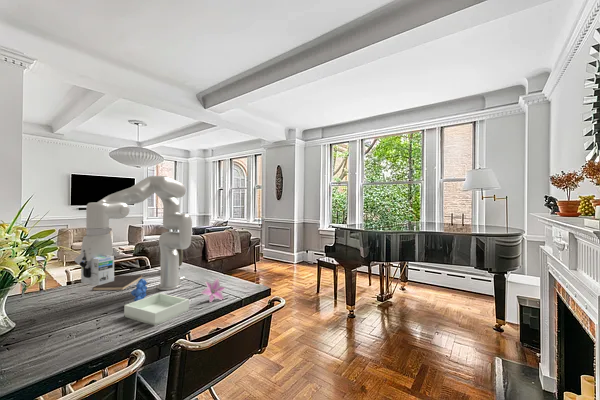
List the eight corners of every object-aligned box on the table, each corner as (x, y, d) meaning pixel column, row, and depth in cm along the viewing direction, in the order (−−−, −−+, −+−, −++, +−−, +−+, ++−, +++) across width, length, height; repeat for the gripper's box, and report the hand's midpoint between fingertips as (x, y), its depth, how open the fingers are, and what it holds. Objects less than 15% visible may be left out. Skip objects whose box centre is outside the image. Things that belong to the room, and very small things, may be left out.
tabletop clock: (181, 269, 196) (181, 234, 196) (183, 272, 189) (183, 236, 189) (158, 271, 189) (159, 235, 189) (159, 274, 181) (160, 237, 181)
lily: (196, 305, 134) (201, 290, 131) (201, 288, 144) (206, 274, 141) (220, 310, 137) (226, 296, 134) (223, 293, 148) (229, 280, 145)
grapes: (134, 300, 135) (135, 276, 135) (149, 299, 137) (150, 275, 137) (126, 309, 124) (126, 283, 124) (142, 308, 126) (142, 282, 126)
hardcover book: (142, 278, 174) (142, 275, 174) (123, 290, 151) (123, 286, 151) (116, 279, 172) (116, 275, 172) (92, 291, 149) (92, 287, 149)
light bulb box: (114, 281, 114) (114, 255, 114) (98, 286, 108) (98, 258, 108) (97, 278, 118) (97, 253, 118) (80, 282, 112) (80, 256, 112)
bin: (159, 303, 133) (159, 292, 133) (188, 310, 125) (189, 299, 125) (124, 316, 117) (124, 305, 117) (155, 325, 109) (155, 313, 109)
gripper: (113, 229, 122) (113, 268, 123) (67, 234, 106) (67, 279, 107) (124, 230, 119) (124, 270, 119) (78, 235, 103) (78, 282, 104)
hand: (97, 274), depth 113 cm, fingers closed on light bulb box, 7 cm apart
